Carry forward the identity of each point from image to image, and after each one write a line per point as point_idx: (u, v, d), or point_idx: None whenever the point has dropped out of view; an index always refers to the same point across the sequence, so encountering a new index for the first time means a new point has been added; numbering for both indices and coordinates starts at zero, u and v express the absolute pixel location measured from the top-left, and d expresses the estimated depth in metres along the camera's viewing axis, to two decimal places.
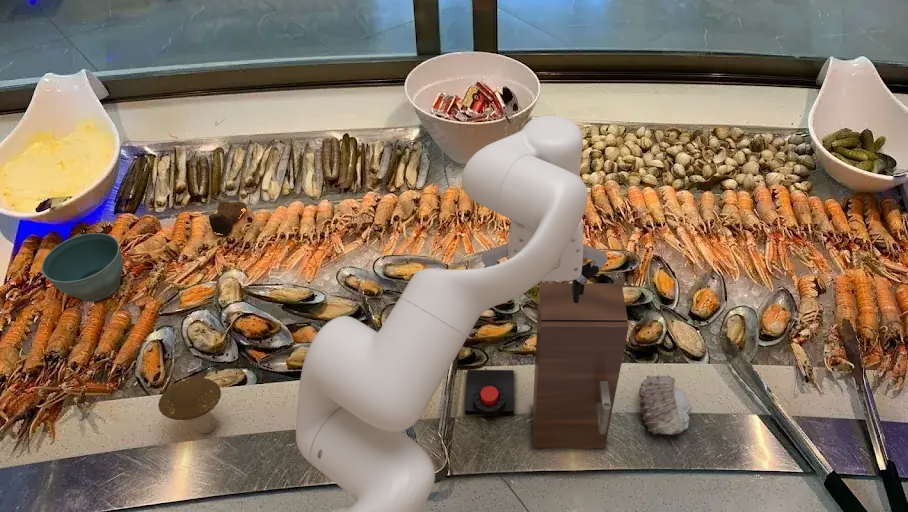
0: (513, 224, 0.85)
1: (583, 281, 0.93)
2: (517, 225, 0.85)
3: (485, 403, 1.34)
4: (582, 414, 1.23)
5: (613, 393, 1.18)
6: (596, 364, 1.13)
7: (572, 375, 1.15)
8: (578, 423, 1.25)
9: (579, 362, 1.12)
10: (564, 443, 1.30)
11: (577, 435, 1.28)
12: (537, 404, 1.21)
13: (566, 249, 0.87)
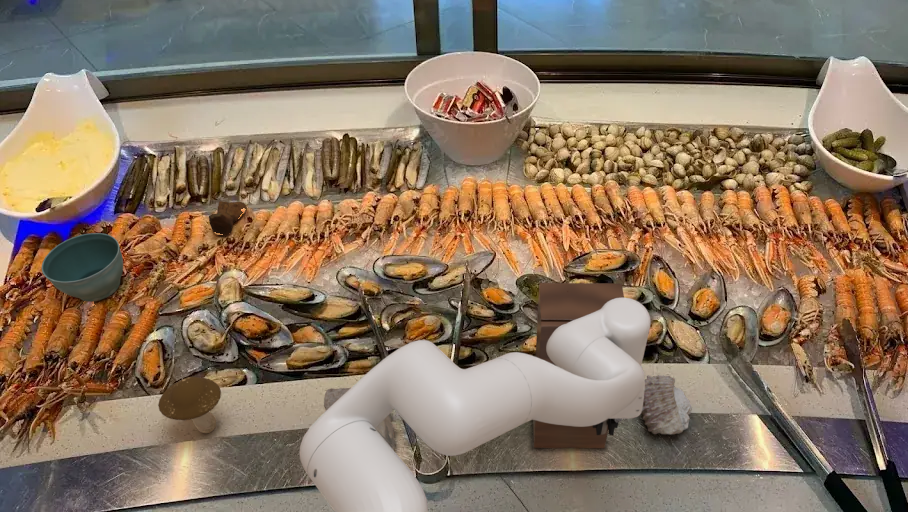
0: None
1: (618, 420, 1.11)
2: None
3: None
4: None
5: None
6: None
7: None
8: None
9: None
10: (564, 443, 1.30)
11: (577, 435, 1.28)
12: None
13: None
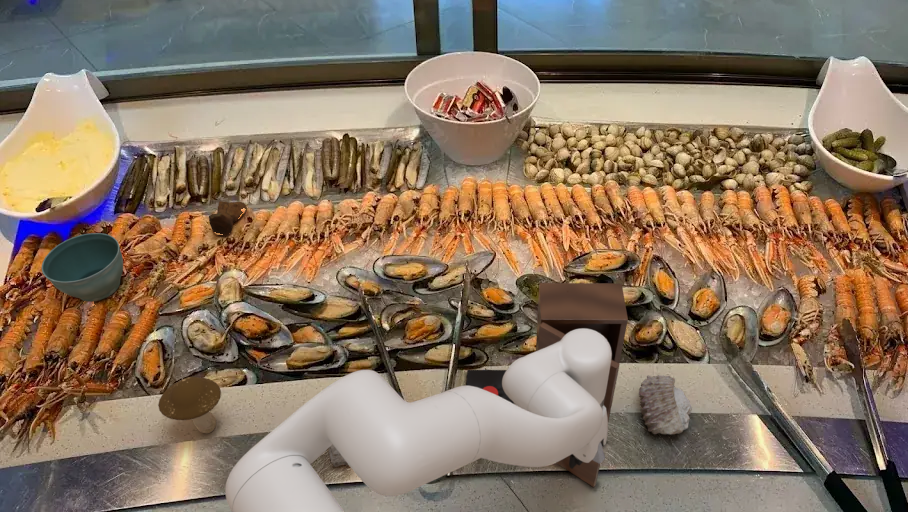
0: None
1: None
2: None
3: None
4: None
5: None
6: None
7: None
8: None
9: None
10: None
11: (569, 458, 1.24)
12: None
13: None
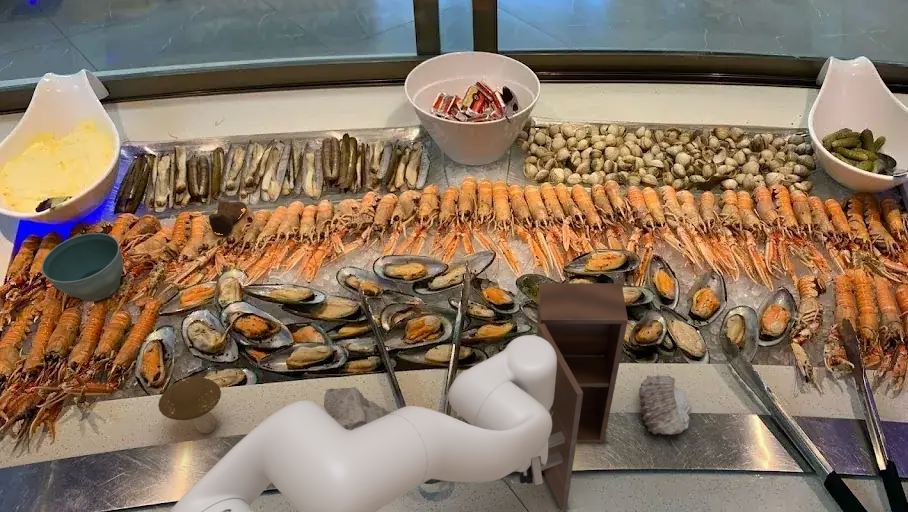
0: None
1: (523, 472, 1.04)
2: None
3: None
4: (552, 452, 1.17)
5: (567, 457, 1.09)
6: (560, 410, 1.06)
7: None
8: None
9: None
10: None
11: (550, 471, 1.22)
12: None
13: None
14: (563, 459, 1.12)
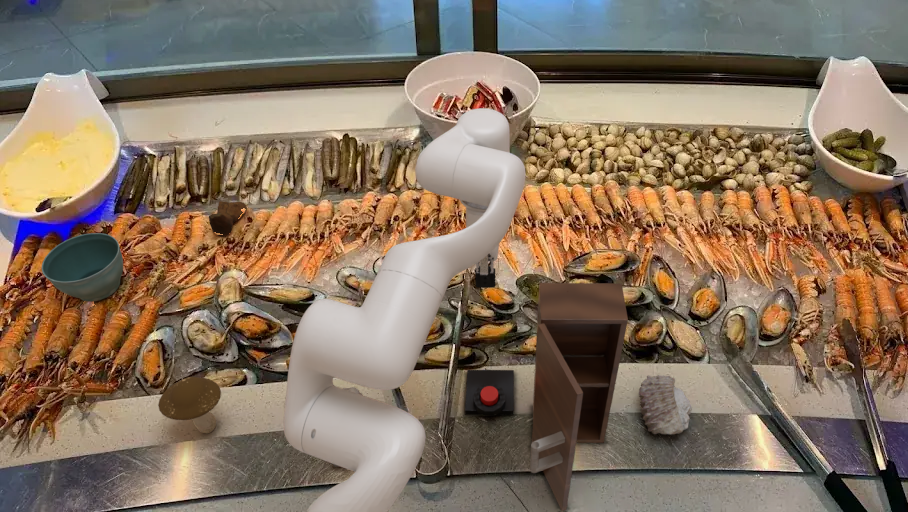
0: None
1: None
2: None
3: (485, 403, 1.34)
4: (552, 452, 1.17)
5: (567, 457, 1.09)
6: (560, 410, 1.06)
7: (549, 401, 1.11)
8: None
9: (553, 393, 1.08)
10: None
11: (550, 471, 1.22)
12: (534, 403, 1.21)
13: None
14: (563, 459, 1.12)
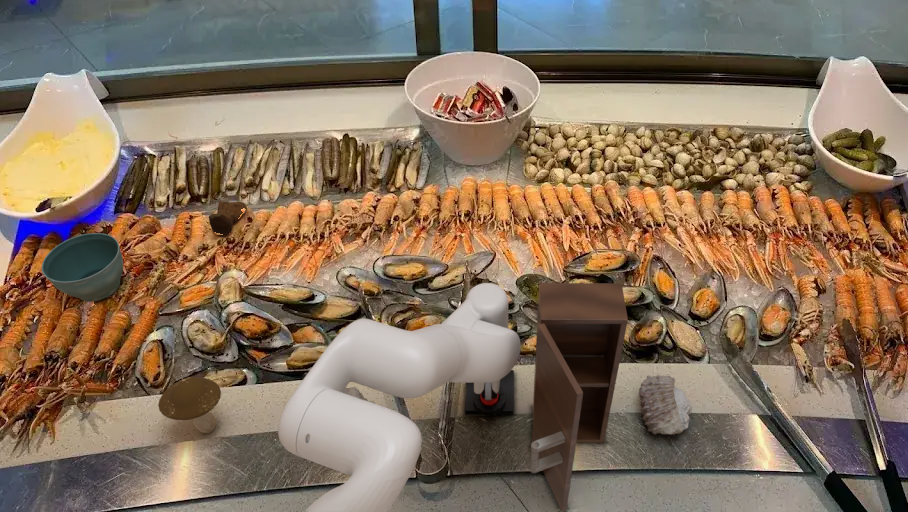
0: None
1: None
2: None
3: (485, 405, 1.35)
4: (552, 452, 1.17)
5: (567, 457, 1.09)
6: (560, 410, 1.06)
7: (549, 401, 1.11)
8: None
9: (553, 393, 1.08)
10: None
11: (550, 471, 1.22)
12: (534, 403, 1.21)
13: None
14: (563, 459, 1.12)
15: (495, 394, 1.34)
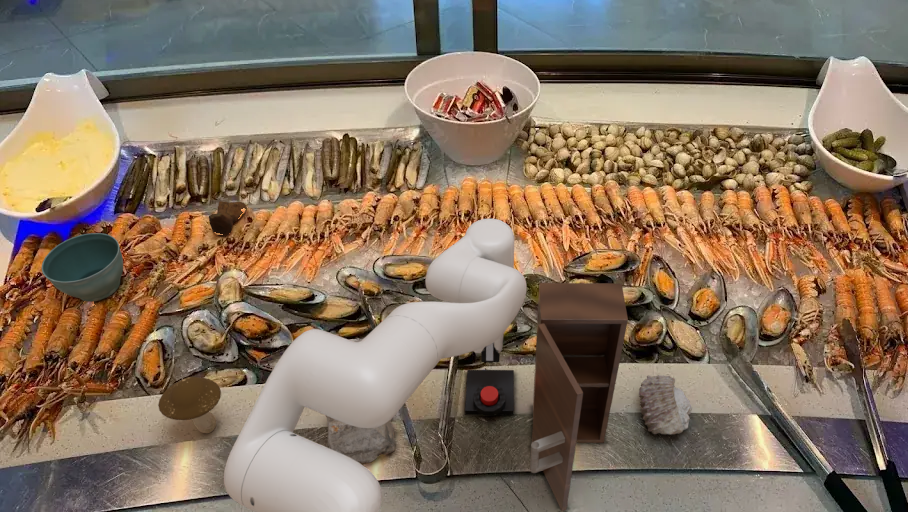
0: None
1: None
2: None
3: (485, 403, 1.34)
4: (552, 452, 1.17)
5: (567, 457, 1.09)
6: (560, 410, 1.06)
7: (549, 401, 1.11)
8: None
9: (553, 393, 1.08)
10: None
11: (550, 471, 1.22)
12: (534, 403, 1.21)
13: None
14: (563, 459, 1.12)
15: (497, 357, 1.17)
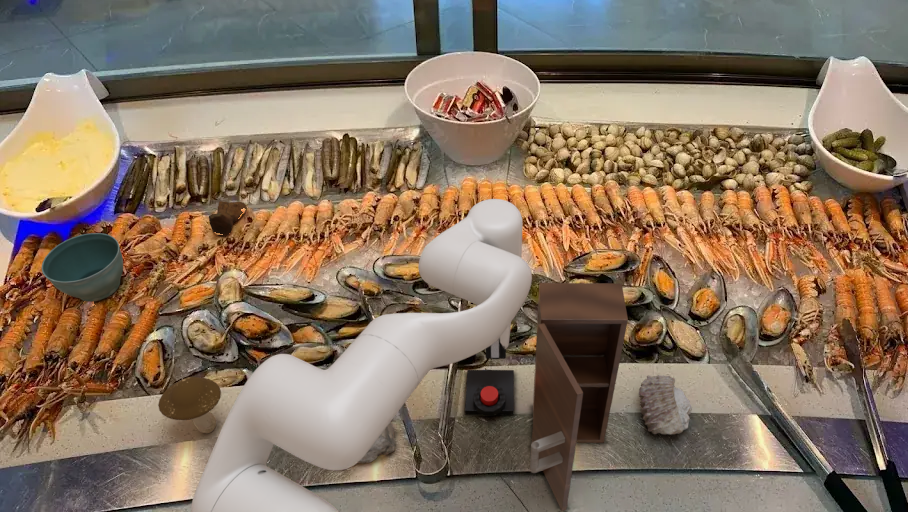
0: None
1: None
2: None
3: (485, 403, 1.34)
4: (552, 452, 1.17)
5: (567, 457, 1.09)
6: (560, 410, 1.06)
7: (549, 401, 1.11)
8: None
9: (553, 393, 1.08)
10: None
11: (550, 471, 1.22)
12: (534, 403, 1.21)
13: None
14: (563, 459, 1.12)
15: (503, 353, 1.06)
